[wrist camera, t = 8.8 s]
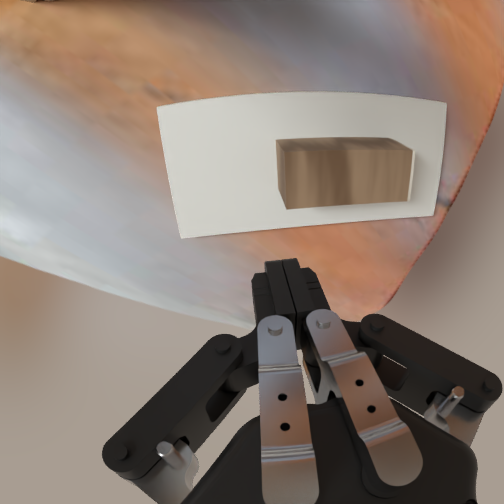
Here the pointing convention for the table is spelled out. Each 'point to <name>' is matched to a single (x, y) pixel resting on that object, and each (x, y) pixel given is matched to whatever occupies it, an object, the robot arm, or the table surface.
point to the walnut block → (343, 171)
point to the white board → (265, 162)
